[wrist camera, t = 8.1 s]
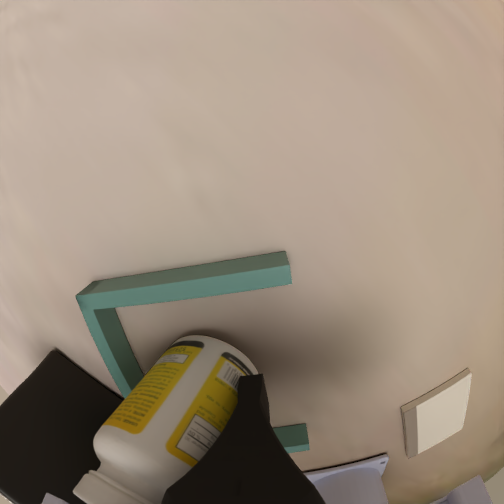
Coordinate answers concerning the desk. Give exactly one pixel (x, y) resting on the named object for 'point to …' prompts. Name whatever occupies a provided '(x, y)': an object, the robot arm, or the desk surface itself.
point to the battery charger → (51, 432)
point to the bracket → (172, 289)
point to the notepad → (436, 414)
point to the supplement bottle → (166, 422)
